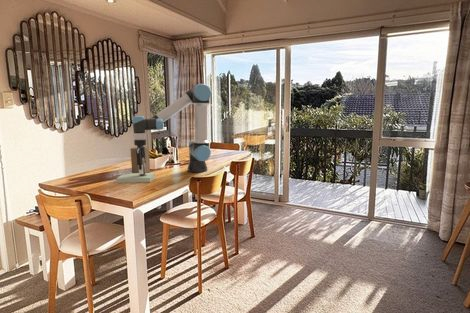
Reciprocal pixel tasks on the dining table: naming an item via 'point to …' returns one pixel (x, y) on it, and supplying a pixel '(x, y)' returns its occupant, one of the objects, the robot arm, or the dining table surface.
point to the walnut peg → (143, 167)
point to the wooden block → (134, 160)
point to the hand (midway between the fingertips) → (142, 173)
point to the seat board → (135, 178)
